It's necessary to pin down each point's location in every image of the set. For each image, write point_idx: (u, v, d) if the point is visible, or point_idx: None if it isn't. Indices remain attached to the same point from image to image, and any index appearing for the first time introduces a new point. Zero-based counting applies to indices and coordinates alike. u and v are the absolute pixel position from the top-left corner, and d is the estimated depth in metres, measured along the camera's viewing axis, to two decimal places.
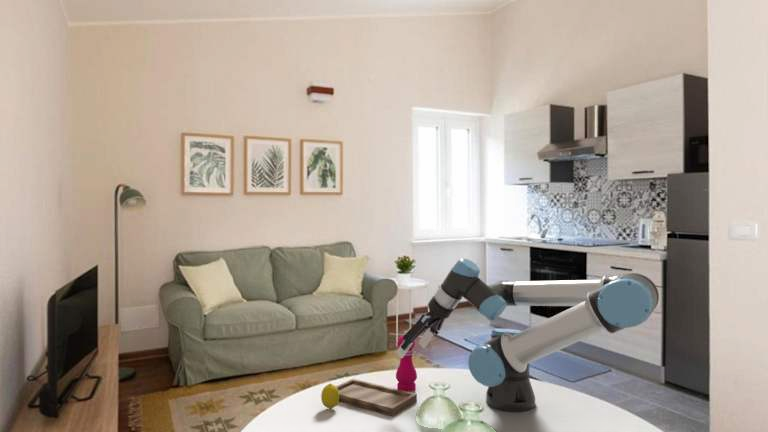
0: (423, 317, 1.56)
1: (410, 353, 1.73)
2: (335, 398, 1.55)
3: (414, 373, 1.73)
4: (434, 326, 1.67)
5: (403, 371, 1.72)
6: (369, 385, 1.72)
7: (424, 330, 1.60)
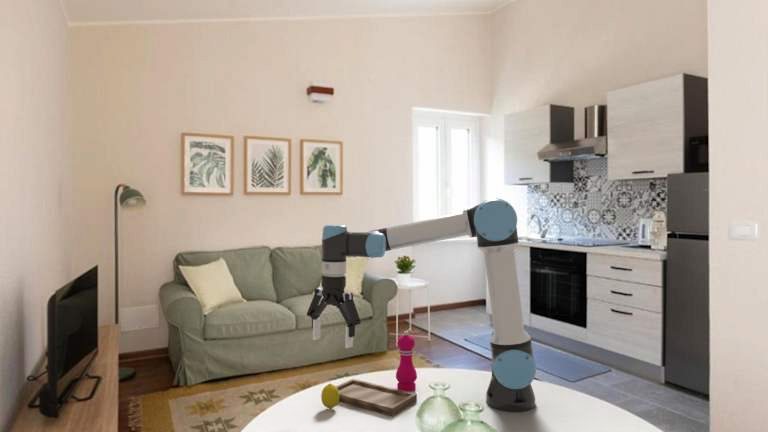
0: (349, 295, 1.53)
1: (410, 353, 1.73)
2: (335, 398, 1.55)
3: (414, 373, 1.73)
4: (324, 308, 1.61)
5: (403, 371, 1.72)
6: (369, 385, 1.72)
7: None
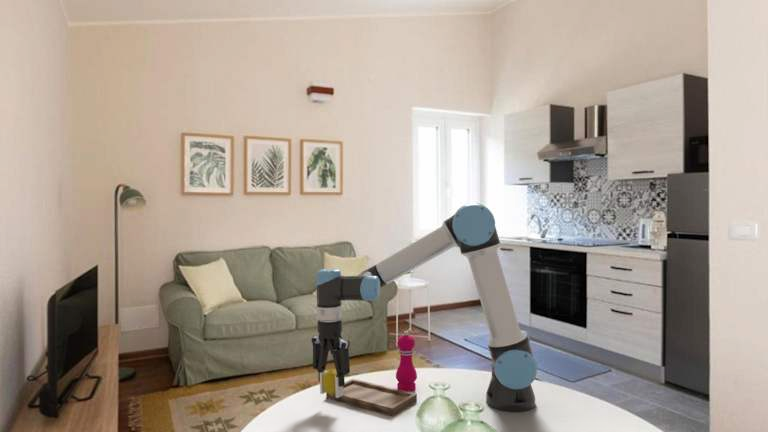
0: (346, 345, 1.53)
1: (410, 353, 1.73)
2: None
3: (414, 373, 1.73)
4: (326, 356, 1.59)
5: (403, 371, 1.72)
6: (369, 385, 1.72)
7: None
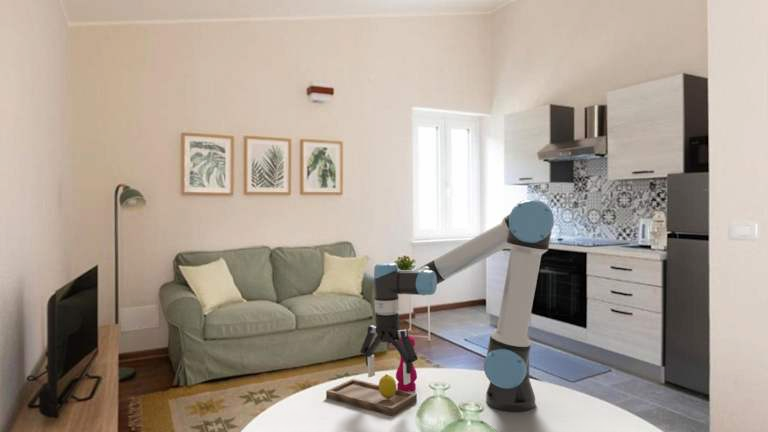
0: (404, 332, 1.56)
1: None
2: (393, 388, 1.59)
3: (414, 373, 1.73)
4: (377, 345, 1.64)
5: None
6: (369, 385, 1.72)
7: None
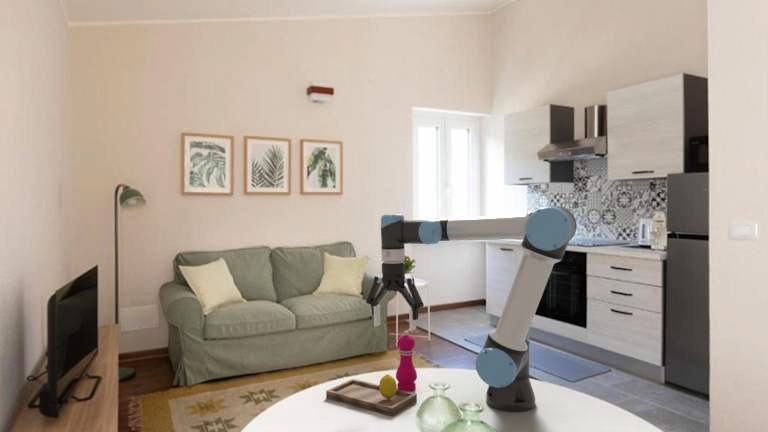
0: (411, 279, 1.61)
1: (410, 353, 1.73)
2: (393, 388, 1.59)
3: (414, 373, 1.73)
4: (383, 295, 1.68)
5: (403, 371, 1.72)
6: (369, 385, 1.72)
7: None
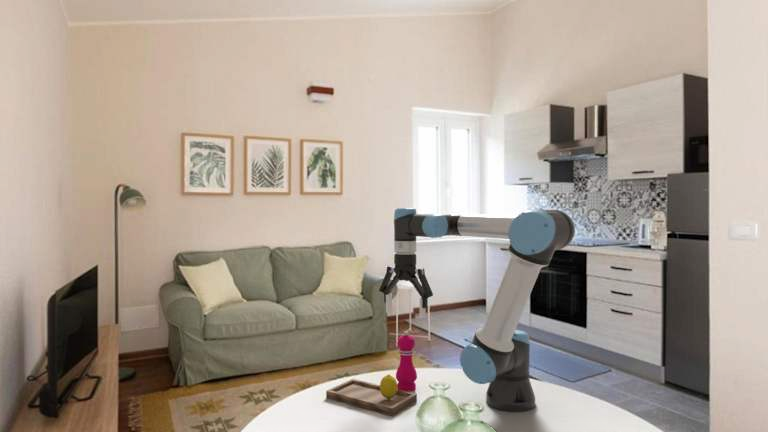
0: (421, 270, 1.70)
1: (410, 353, 1.73)
2: (394, 389, 1.59)
3: (414, 373, 1.73)
4: (395, 284, 1.77)
5: (403, 371, 1.72)
6: (369, 385, 1.72)
7: None
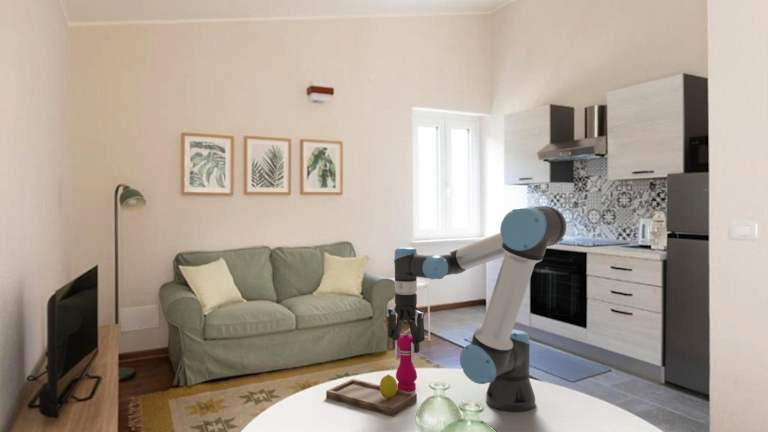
0: (422, 315, 1.70)
1: (410, 353, 1.73)
2: (393, 389, 1.59)
3: (414, 373, 1.73)
4: (401, 326, 1.76)
5: (403, 371, 1.72)
6: (369, 385, 1.72)
7: None
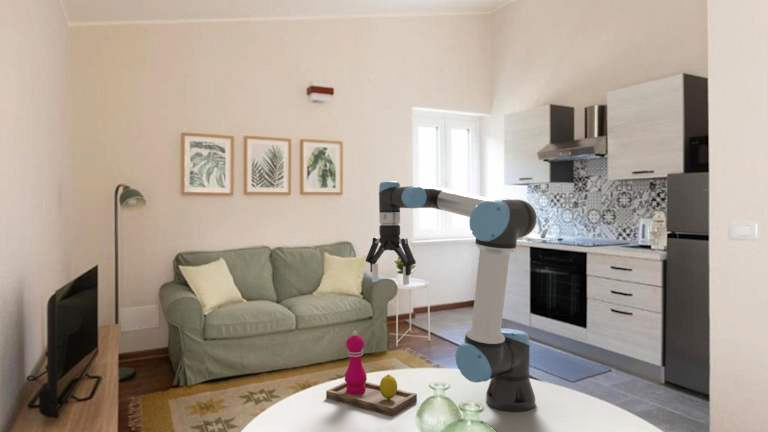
0: (405, 239, 1.80)
1: (358, 354, 1.66)
2: (393, 389, 1.59)
3: (363, 375, 1.66)
4: (381, 254, 1.88)
5: (351, 373, 1.66)
6: (369, 385, 1.72)
7: None
